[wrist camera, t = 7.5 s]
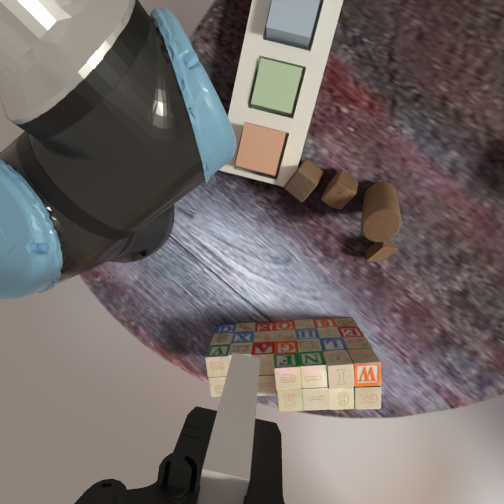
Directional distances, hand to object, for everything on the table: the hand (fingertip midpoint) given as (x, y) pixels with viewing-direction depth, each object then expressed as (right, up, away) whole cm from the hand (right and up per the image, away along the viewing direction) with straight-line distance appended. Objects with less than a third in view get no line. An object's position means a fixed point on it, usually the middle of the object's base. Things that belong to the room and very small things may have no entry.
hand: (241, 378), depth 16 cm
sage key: (+4, +27, +22) cm, 35 cm away
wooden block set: (+14, +14, +26) cm, 33 cm away
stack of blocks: (+6, -7, +31) cm, 33 cm away
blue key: (+5, +34, +19) cm, 39 cm away
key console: (+4, +27, +23) cm, 36 cm away
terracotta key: (+2, +20, +23) cm, 30 cm away
